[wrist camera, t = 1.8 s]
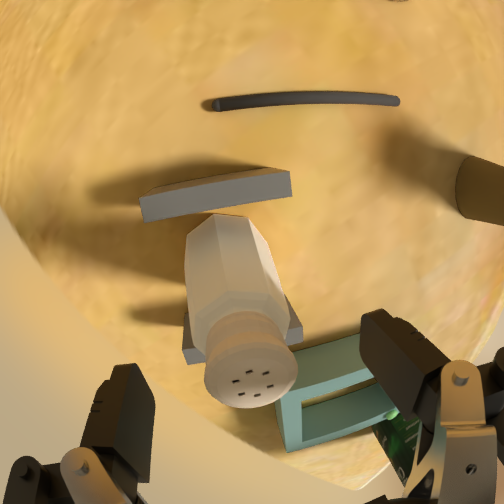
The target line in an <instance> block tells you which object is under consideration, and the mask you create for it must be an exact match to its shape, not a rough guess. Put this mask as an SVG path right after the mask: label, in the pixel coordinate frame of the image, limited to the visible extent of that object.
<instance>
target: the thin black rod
mask: <svg viewBox="0 0 504 504" xmlns="http://www.w3.org/2000/svg"><path fill="white" fill-rule="evenodd" d="M295 104H368V105H384V106H398V105H399V104H400V99H399V98H398V97H397V96H393V95H383V94H372V93H357V92H323V91H316V92H282V93H266V94H254V95H244V96H235V97H227V98H220V99H216V100H214V101H213V103H212V108H213V110H215V111H216V112H222V111H230V110H237V109H246V108H255V107H266V106H279V105H295Z"/></svg>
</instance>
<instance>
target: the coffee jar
mask: <svg viewBox="0 0 504 504" xmlns="http://www.w3.org/2000/svg"><path fill="white" fill-rule="evenodd" d="M420 422H421V420H420V419H419V418H418V416H417V417H416V418H414V419H412V420H410V421H408V422H407V421H406V420H405V419H404V417H403V416H402V415H401V413H398V414H397V415H396V417H394V418H393V419H391V420H388V419H385V420H383V421H380V422H378V423H376V424H373V425H372V428H373V432H374V434H375V436H376V438H377V439H378V441H379V443H380V445H381V446H382V448H383V450H384V451H385V453H386V455H387V457H388V458H389V460H390V462H391V464H392V466H393V467H394V469H395V471H396V473H397V475H398V477H399V478H400V480H401V482H402V484H403V486H404V487H405V486H406V483H407V480H408V478H409V476H410V474H411V471H412V467H413V462H414V456H415V451H416V444H417V438H418V430H419V424H420Z"/></svg>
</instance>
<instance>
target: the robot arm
mask: <svg viewBox="0 0 504 504" xmlns="http://www.w3.org/2000/svg"><path fill="white" fill-rule="evenodd" d="M392 1H397V2H404V1H408V0H392ZM359 352H360V356H361V359H362V361H363V363H364V364H365V365H366V367H367V368H368V369H369V371H370V372H371V373H372V375H373V376H374V377H375V379H376V380H377V382H378V383H379V384H380V386H381V387H382V388H383V390H384V391H385V392H386V394H387V395H388V397H389V398H390V399H391V401H392V402H393V403H394V405H395V406H396V408H397V409H398V410H399V412H400V413H401V415H402V416H403V417H404V419H405V420H406V421H407V422H408V421H410V420H412V419H414V418H416V417H417V416H418V418H419V419H420V420H421V422H420V424H419V430H418V438H417V444H416V451H415V456H414V462H413V467H412V471H411V474H410V476H409V478H408V480H407V483H406V486H405V489H404V492H403V495H402V498H398V499H390V500H387V498H386V496H385V495H383V496H380V497H378V498H376V499H374V500H372V501H370V502H367V503H365V504H494V503H495V493H496V479H497V457H498V458H499V460H500V461H501V462H502V464H503V465H504V347H502V348H500V349H499V350H498V351H497V353H496V355H495V357H494V360H493V362H490V363H487V364H483V365H480V366H475V365H473V364H472V363H470V362H468V361H464V360H455V361H451V360H450V359H449V358H447V357H446V356H445V355H444V354H443V353H442V352H441V351H440V350H439V349H438V348H437V347H436V346H435V345H434V344H432V343H431V342H430V341H429V340H428V339H427V338H425V336H424V335H423V334H421V333H420V332H418V330H417V329H416V328H415V327H414V326H413V325H411V324H410V323H409V322H407V321H405V320H403V319H400V318H398V317H396V318H393V317H392V316H391V315H390V314H389V313H388V312H386V311H385V310H384V309H382V308H381V309H378V310H375V311H372V312H369V313H366V314H363V315H362V317H361V328H360V342H359ZM93 402H94V404H92V407H91V410H90V411H91V413H89V416H88V419H87V423H86V426H85V430H84V433H83V436H82V440H81V443H80V447H78V448H74V449H72V450H70V451H69V452H67V453H66V454H65V456H64V457H63V458H62V460H61V463H55V464H49V465H41V464H40V463H39V462H38V461H37V460H36V459H35V458H33V457H30V456H23V457H20V458H19V459H18V460H16V461H15V462H14V464H13V466H12V468H11V472H10V475H9V479H8V483H7V487H6V491H5V495H4V500H3V504H148V503H147V502H146V501H145V500H144V498H143V497H142V496H141V495H140V493H139V492H138V491H137V484H138V483H149V479H150V462H151V448H152V437H153V426H154V416H155V400H154V396H153V393H152V391H151V389H150V388H149V386H148V384H147V382H146V380H145V378H144V376H143V374H142V372H141V370H140V368H139V367H138V365H137V364H136V363H131V364H123V365H115V366H114V368H113V371H112V374H111V377H110V380H105V381H104V382H103V383H102V385H101V386H100V387H99V388H98V390H97V392H96V395H95V398H94V400H93Z"/></svg>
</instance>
